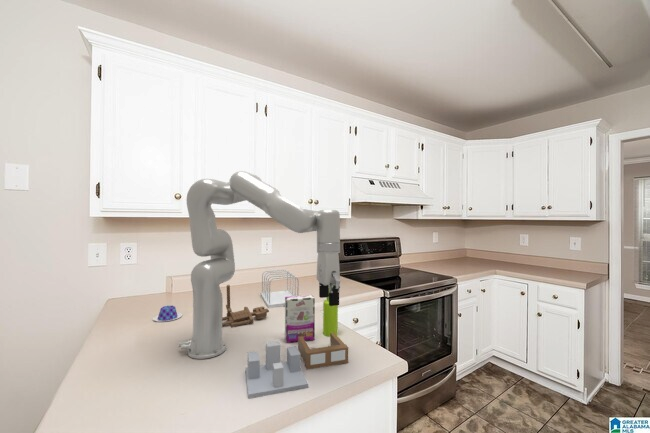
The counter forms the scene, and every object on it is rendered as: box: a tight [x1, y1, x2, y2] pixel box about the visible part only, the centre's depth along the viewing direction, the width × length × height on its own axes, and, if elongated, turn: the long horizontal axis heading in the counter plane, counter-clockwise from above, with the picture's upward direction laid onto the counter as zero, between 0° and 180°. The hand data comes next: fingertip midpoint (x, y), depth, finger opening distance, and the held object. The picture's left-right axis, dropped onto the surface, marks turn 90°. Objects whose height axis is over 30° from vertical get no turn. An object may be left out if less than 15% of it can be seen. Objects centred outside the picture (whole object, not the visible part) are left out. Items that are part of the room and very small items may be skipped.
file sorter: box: [260, 269, 300, 309], centre depth 163 cm, size 25×17×16 cm
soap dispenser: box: [322, 284, 339, 338], centre depth 116 cm, size 6×7×20 cm
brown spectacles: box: [297, 333, 349, 370], centre depth 96 cm, size 14×13×5 cm
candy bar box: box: [284, 294, 316, 344], centre depth 110 cm, size 11×5×16 cm, turn 105°
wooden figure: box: [222, 284, 270, 328], centre depth 125 cm, size 14×18×25 cm
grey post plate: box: [245, 340, 309, 399], centre depth 82 cm, size 16×14×8 cm
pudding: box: [152, 305, 183, 322], centre depth 132 cm, size 12×12×5 cm
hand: (328, 301), depth 91 cm, fingers open, 9 cm apart
